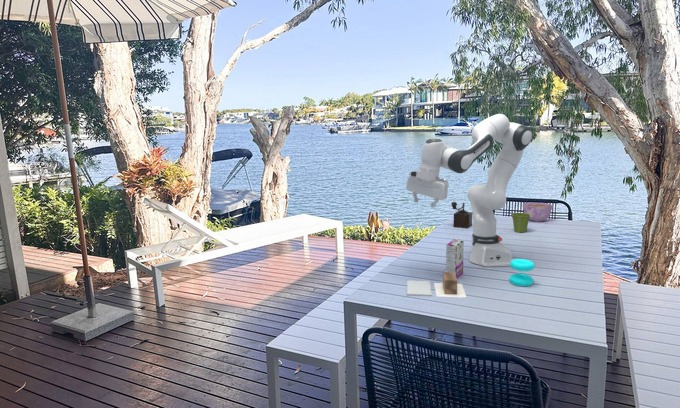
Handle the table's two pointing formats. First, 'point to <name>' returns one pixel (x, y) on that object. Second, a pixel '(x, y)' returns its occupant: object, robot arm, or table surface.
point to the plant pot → (520, 221)
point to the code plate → (441, 293)
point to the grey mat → (418, 288)
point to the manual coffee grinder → (462, 217)
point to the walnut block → (449, 283)
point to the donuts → (519, 277)
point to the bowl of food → (537, 210)
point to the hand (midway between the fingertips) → (424, 204)
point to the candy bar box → (455, 257)
